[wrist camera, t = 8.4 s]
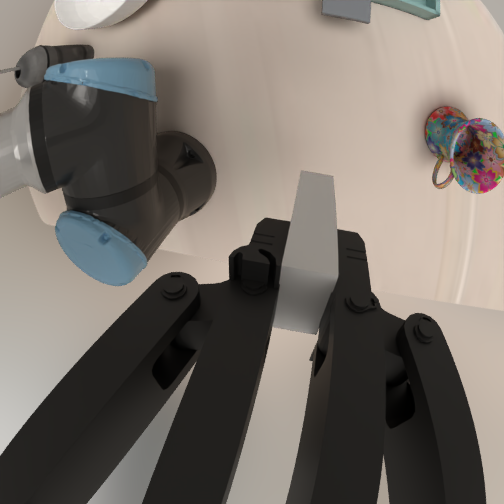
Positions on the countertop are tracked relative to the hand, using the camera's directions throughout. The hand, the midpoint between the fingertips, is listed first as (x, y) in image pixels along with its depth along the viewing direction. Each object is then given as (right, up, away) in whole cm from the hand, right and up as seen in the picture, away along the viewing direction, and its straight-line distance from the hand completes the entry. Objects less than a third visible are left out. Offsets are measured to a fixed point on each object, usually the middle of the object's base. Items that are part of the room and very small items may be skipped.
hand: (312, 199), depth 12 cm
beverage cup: (-32, +33, +18) cm, 50 cm away
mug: (+25, +14, +17) cm, 33 cm away
